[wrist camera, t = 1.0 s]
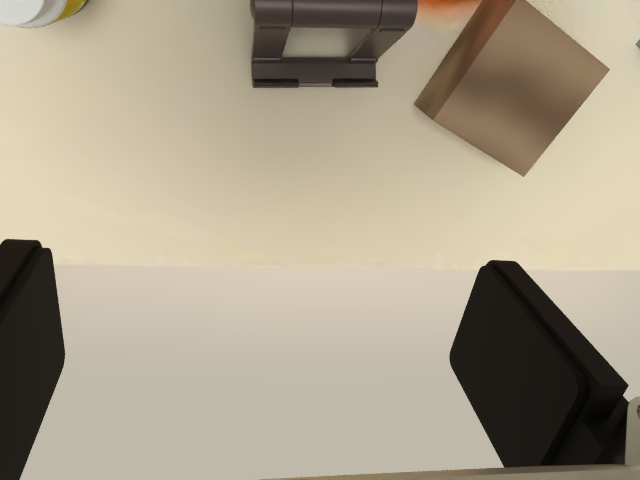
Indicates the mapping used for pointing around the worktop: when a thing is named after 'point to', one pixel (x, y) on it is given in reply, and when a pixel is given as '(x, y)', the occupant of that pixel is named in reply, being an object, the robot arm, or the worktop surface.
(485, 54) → the walnut block
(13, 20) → the supplement bottle
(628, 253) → the worktop surface
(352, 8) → the portable electronic device stand
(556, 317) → the robot arm
